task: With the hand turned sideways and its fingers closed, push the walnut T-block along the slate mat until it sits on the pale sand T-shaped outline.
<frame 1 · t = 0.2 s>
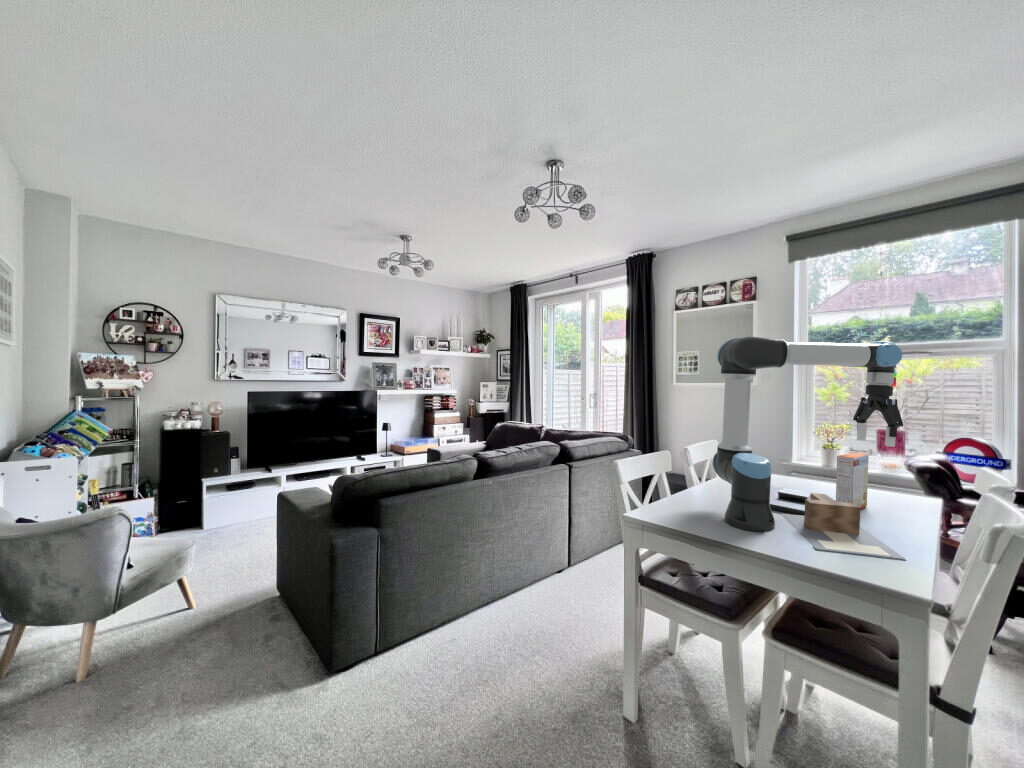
hand: (874, 443, 154), 27 cm above the table, tool pointing down, fingers open, 13 cm apart
cracker box: (850, 508, 166), on the table
mat: (834, 534, 139), on the table
t block: (824, 525, 146), resting on mat
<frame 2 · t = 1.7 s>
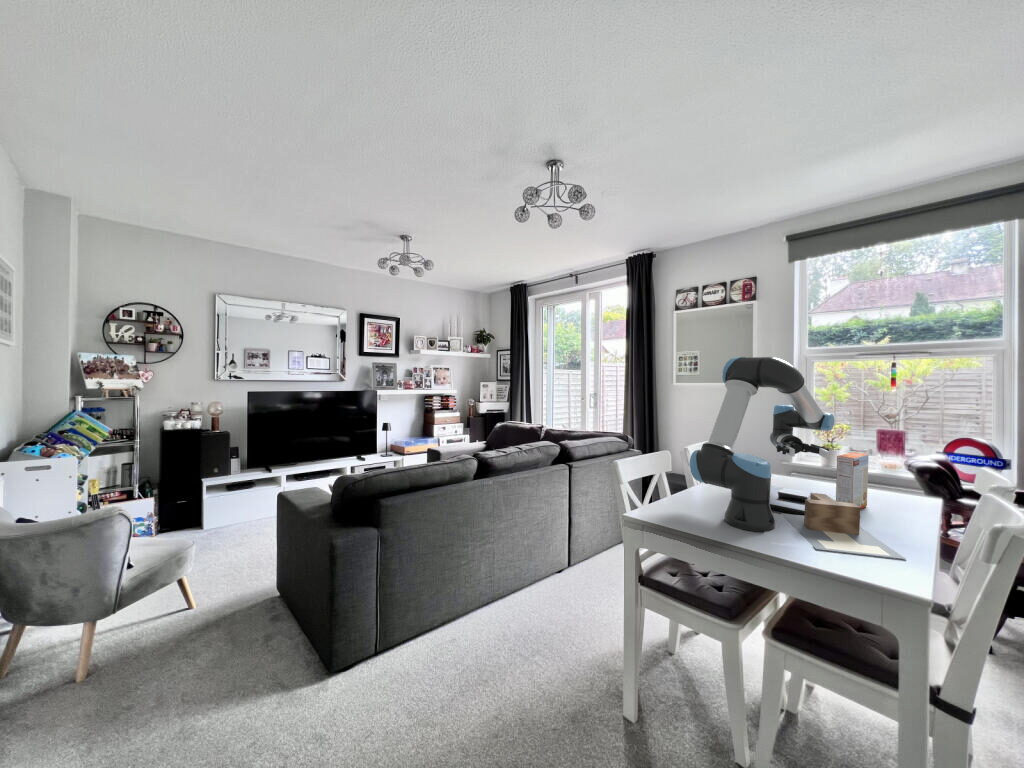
hand: (810, 453, 159), 22 cm above the table, tool horizontal, fingers open, 10 cm apart
nothing on the table moved.
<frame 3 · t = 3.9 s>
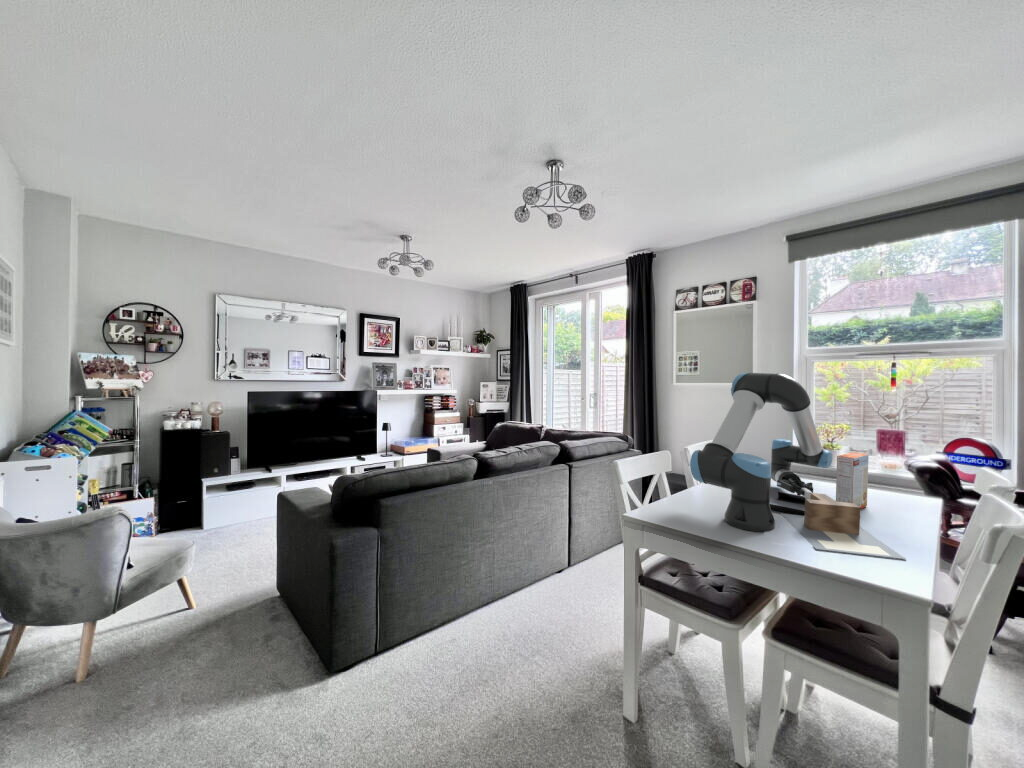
hand: (810, 496, 159), 7 cm above the table, tool horizontal, fingers closed
nothing on the table moved.
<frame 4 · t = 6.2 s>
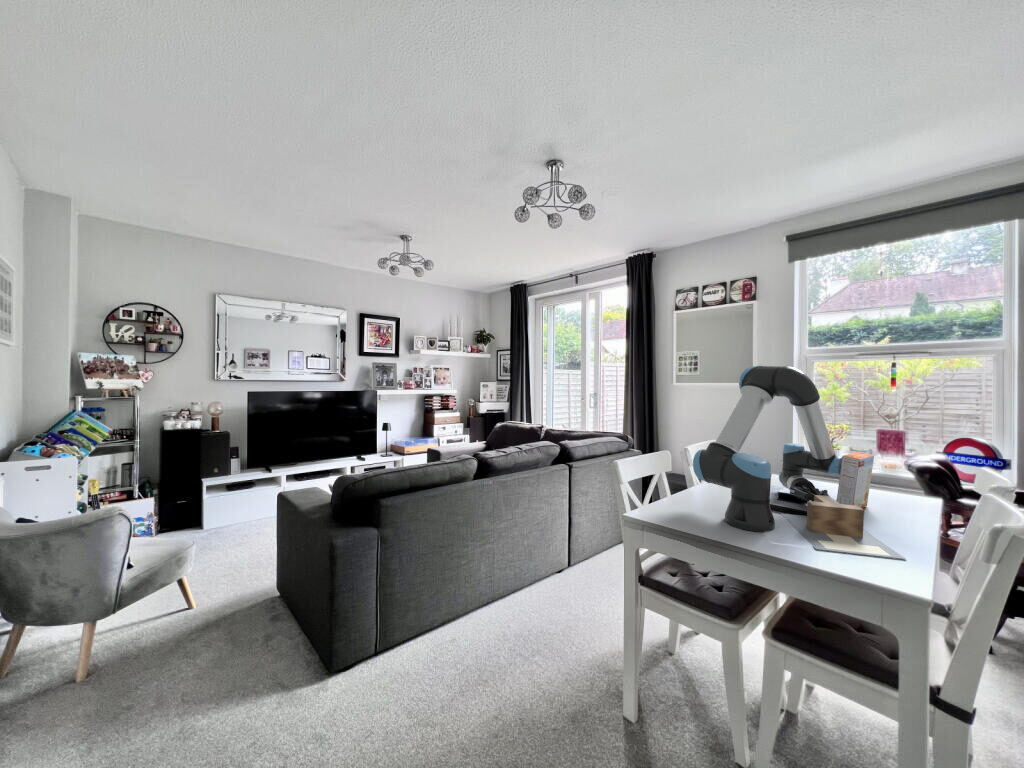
hand: (826, 504, 149), 6 cm above the table, tool horizontal, fingers closed
t block: (828, 527, 144), resting on mat, touching gripper
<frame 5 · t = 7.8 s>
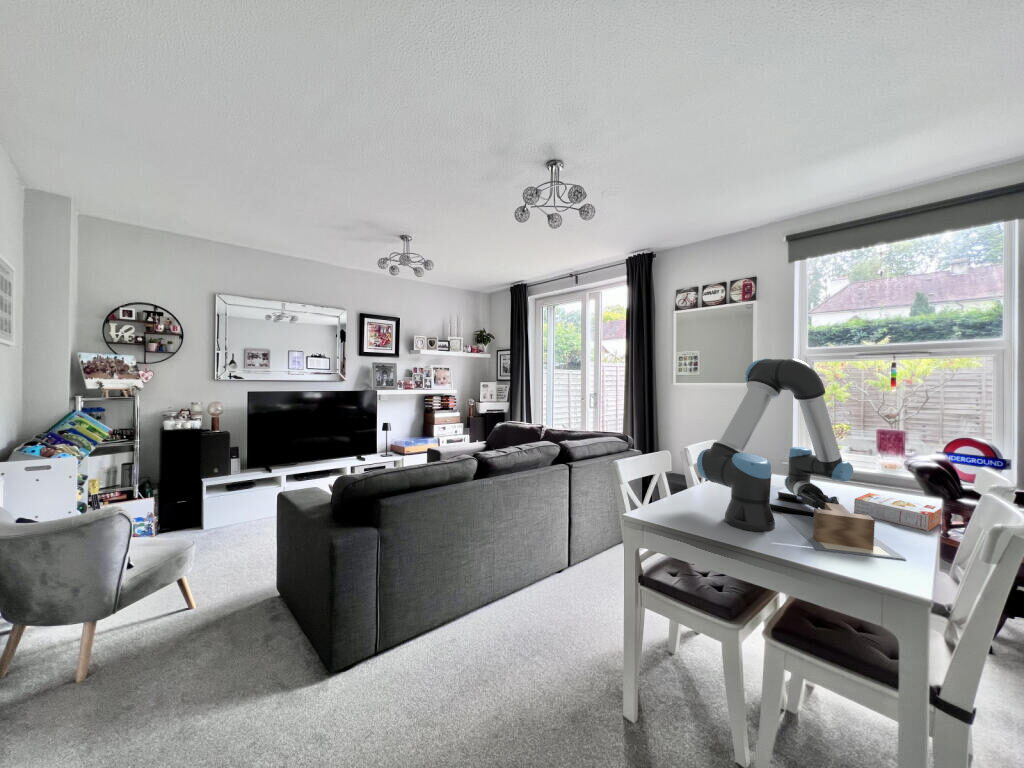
hand: (837, 513, 141), 6 cm above the table, tool horizontal, fingers closed
cracker box: (860, 502, 163), point 3 cm above the table
t block: (837, 537, 135), resting on mat, touching gripper
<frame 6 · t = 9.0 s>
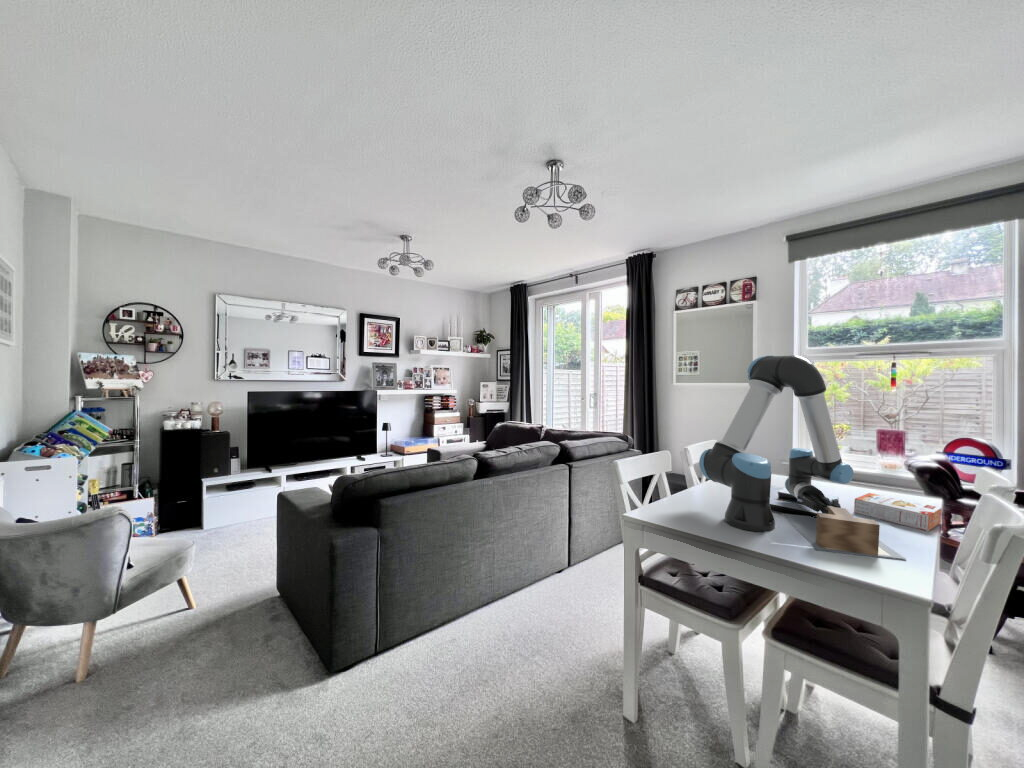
hand: (838, 516, 137), 6 cm above the table, tool horizontal, fingers closed
t block: (841, 542, 131), resting on mat, touching gripper
everything else where it was.
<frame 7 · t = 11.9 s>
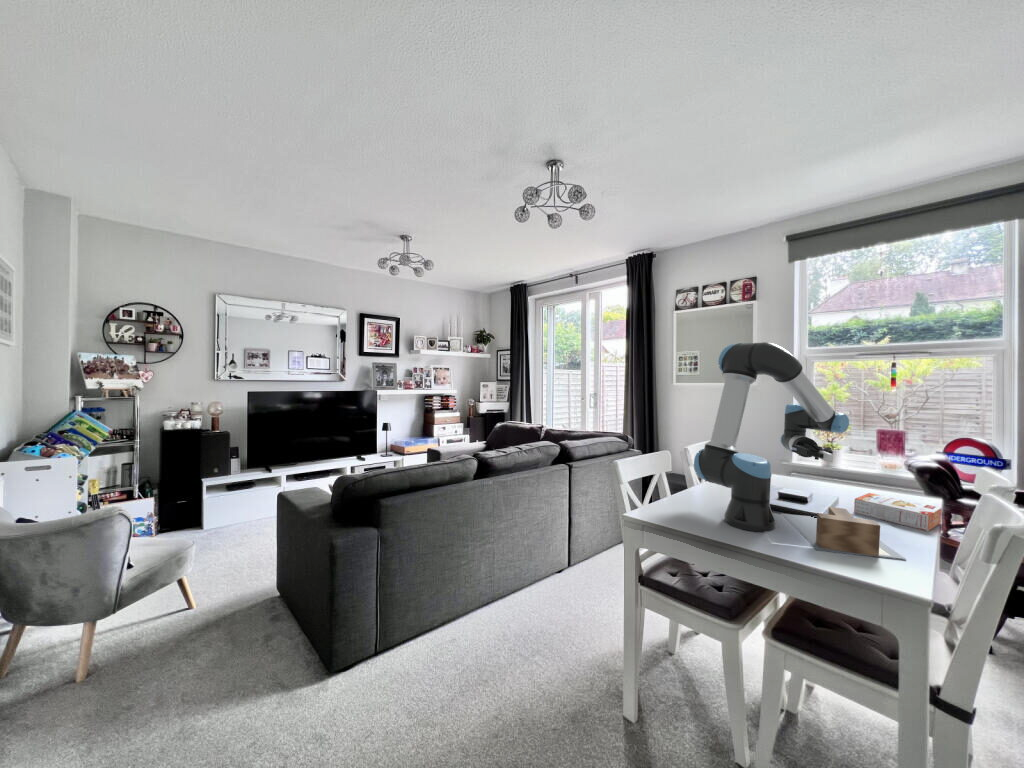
hand: (830, 458, 143), 24 cm above the table, tool horizontal, fingers closed
t block: (841, 543, 131), resting on mat
everything else where it was.
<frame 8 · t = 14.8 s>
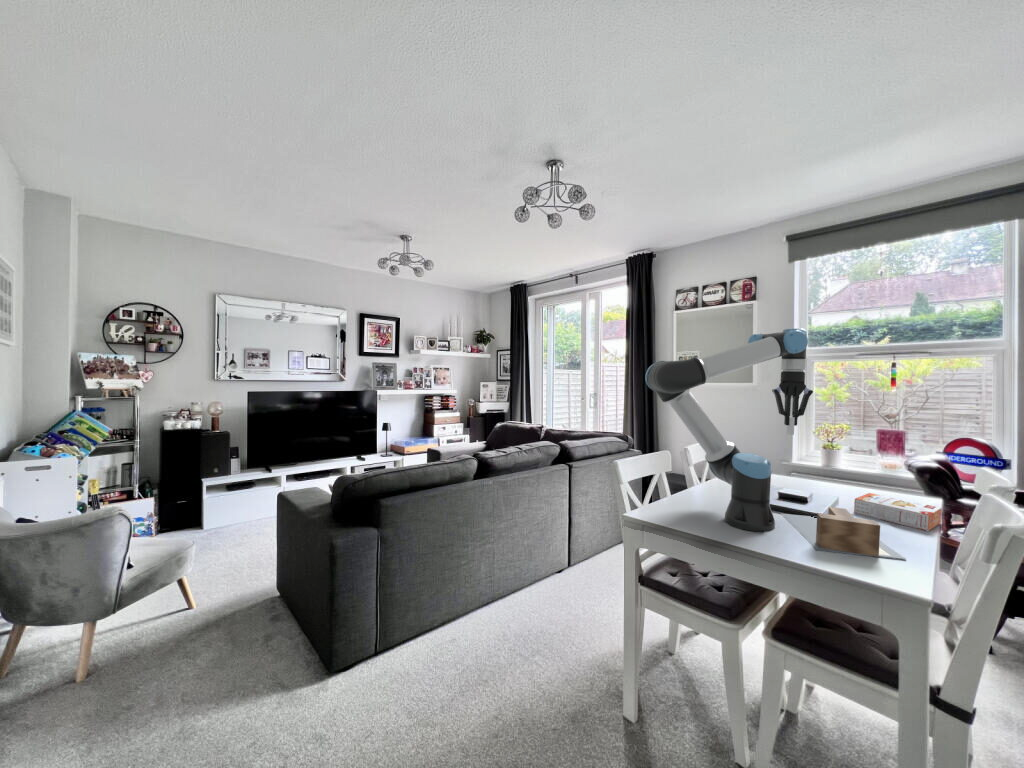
hand: (790, 434, 159), 29 cm above the table, tool pointing down, fingers closed
nothing on the table moved.
at the end: t block 2.4 cm from the target spot on the mat, point 0.4 cm above the mat's base; t block tilted 0°; t block moved 16.4 cm from its start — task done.
